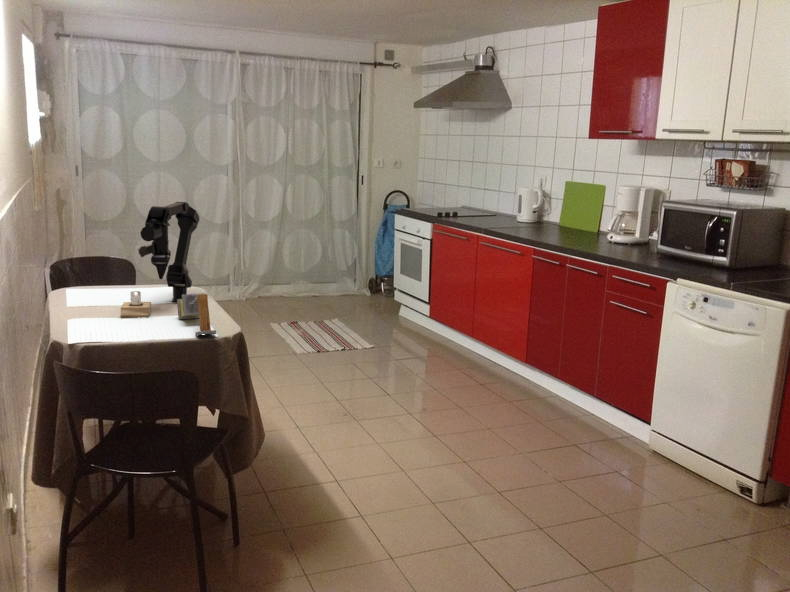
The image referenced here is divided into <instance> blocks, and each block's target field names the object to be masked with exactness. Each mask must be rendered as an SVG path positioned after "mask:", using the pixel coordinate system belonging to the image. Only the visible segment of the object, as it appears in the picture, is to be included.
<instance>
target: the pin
mask: <svg viewBox="0 0 790 592" xmlns="http://www.w3.org/2000/svg"><path fill="white" fill-rule="evenodd" d="M141 294H142V293H141V291H138V290H133V291H130V302H131V306H141V302H142V298H141V297H142V296H141Z"/></svg>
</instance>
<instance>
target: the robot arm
mask: <svg viewBox="0 0 790 592" xmlns="http://www.w3.org/2000/svg"><path fill="white" fill-rule="evenodd" d="M148 210H149V211H148V213H147V215H146V216H147V217H146V219H145V223H144V227H142V229H141V231H140V237H141V238H142V240H143V241H144V242H151V244H148V245H143V246H140V248H138V249H137V251H138V254H139V255H140V257H141V258H144V257H145V256H148V255H150V254H151V257H150V263H151V264H152V265H153V266H155V268H156V271H157V274H158V278H159V280H163V279H164V275H165V274H166V276H165V277H166V279H165V280H166V282H167V287H168V288H170V287H171V288H172V299H171V303H177V299H182V295H183V294H188V289H189V288H192V283H193V282H192V281H193V280H192V279H191V278H190V277H191V276H189V269H188V266H187V262H188V255H189V252H190V251H189V250H190V246H191V245H190V244H191V239H192V235H193V232H195V231H196V229H197V228H198V225H199V222H200V216H199V213H198V212H197V210H196V209H194V208H193V207H192V206H191V205H189V203H188V202H186V201H176V202H174V203H171V204H168V205H165V206H155V205H154V206H151V207H150V209H148ZM173 216H175V218H176V219H177V226H178V227H179V230H180V231H179V235H178V240H177V245H176V250H175V251H176V252H175V257H174V261H173V263H172V264H169V262H170V259H171V257H172V255H171V254H172V253H171V252H172V251H171V250H170V249H169V243H170V242H169V241H170V240H169V227H170V223H169V221H170V220H172V217H173ZM166 271H167V272H166Z"/></svg>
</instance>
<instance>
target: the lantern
mask: <svg viewBox="0 0 790 592" xmlns="http://www.w3.org/2000/svg"><path fill="white" fill-rule="evenodd" d="M208 296H209V295H208V294H207V293H204V292H203V293H187V294H183V295H182V299H177V302H176V305H177V306H176V308H177V316H178V317H177V318H178V320H179V319H182V320H191V319H193V318H196V319H198V321H199V322H198V323H199V331H196V332H194V334H195V335H194V336H195V337H198V336H197V335H202V334H213V335H216V334H217V330H214V329H211V320H210V310H209V300H208V299H209V297H208ZM193 320H194V319H193Z"/></svg>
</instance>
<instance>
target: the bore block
mask: <svg viewBox="0 0 790 592" xmlns="http://www.w3.org/2000/svg"><path fill="white" fill-rule="evenodd" d="M150 313H151V314H152V302H151V301H141V306H131V301H126V302H125V301H124V302H123V303H122V305H121V307H120V318H121V319H142V318H141V317H149V318H150V316H151V314H150ZM138 317H140V318H138Z"/></svg>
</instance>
